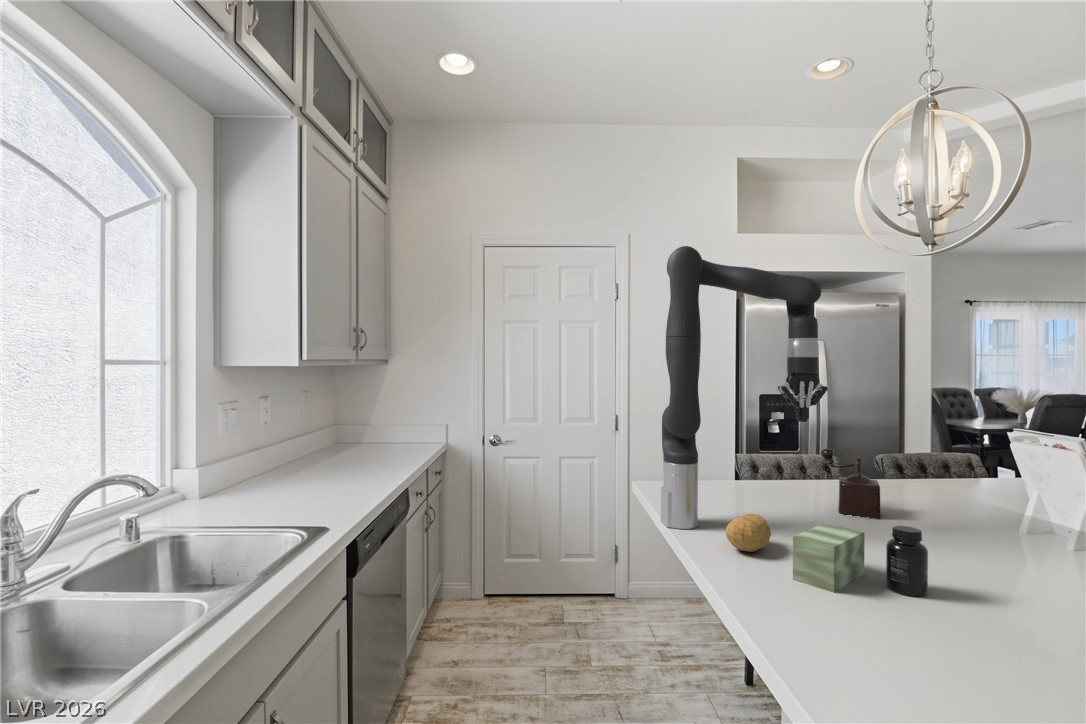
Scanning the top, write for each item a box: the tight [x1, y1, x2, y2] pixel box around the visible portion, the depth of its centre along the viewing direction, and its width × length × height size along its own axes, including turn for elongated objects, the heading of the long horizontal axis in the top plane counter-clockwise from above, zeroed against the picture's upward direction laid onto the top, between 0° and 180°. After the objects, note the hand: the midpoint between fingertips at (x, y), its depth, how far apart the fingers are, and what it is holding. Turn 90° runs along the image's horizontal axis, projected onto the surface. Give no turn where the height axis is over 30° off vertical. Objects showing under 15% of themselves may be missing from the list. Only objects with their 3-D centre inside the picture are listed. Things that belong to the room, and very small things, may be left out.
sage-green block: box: [792, 522, 865, 594], centre depth 112 cm, size 15×8×9 cm, turn 129°
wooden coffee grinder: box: [819, 447, 881, 520], centre depth 162 cm, size 16×11×18 cm
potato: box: [725, 513, 772, 553], centre depth 129 cm, size 10×14×8 cm
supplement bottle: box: [885, 525, 929, 597], centre depth 106 cm, size 7×7×12 cm
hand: (802, 421), depth 142 cm, fingers closed
